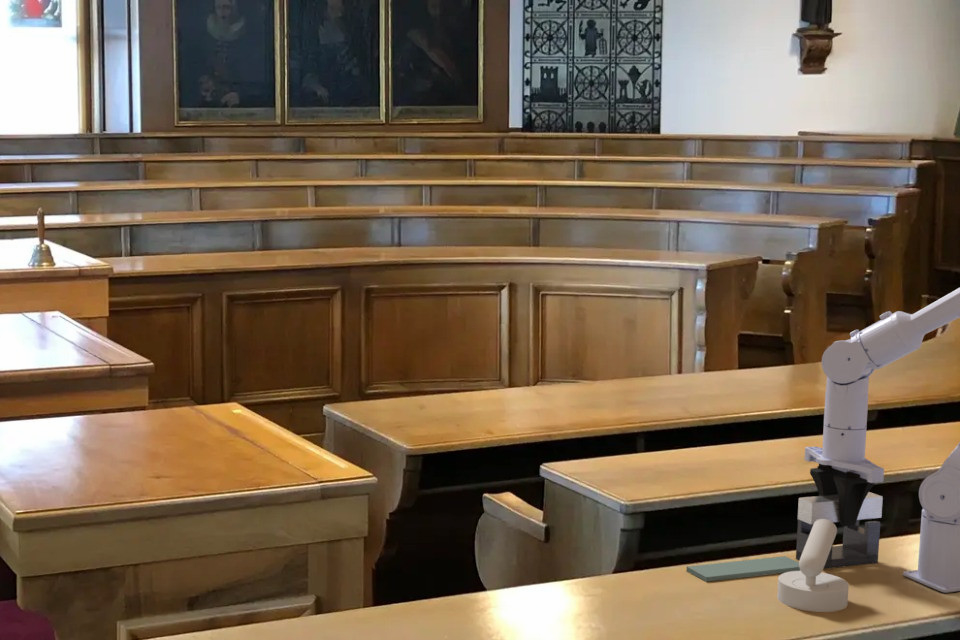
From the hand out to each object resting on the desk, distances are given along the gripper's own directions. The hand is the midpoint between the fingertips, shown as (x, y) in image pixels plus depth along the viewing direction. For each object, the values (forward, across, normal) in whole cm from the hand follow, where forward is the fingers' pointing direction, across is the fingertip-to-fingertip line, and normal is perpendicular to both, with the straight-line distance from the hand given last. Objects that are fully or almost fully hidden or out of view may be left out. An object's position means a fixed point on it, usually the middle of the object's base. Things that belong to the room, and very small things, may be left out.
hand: (839, 522), depth 178 cm
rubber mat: (+6, 0, -15) cm, 16 cm away
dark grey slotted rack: (+6, 0, 0) cm, 6 cm away
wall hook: (+6, +12, -14) cm, 19 cm away
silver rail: (0, 0, 0) cm, 0 cm away
